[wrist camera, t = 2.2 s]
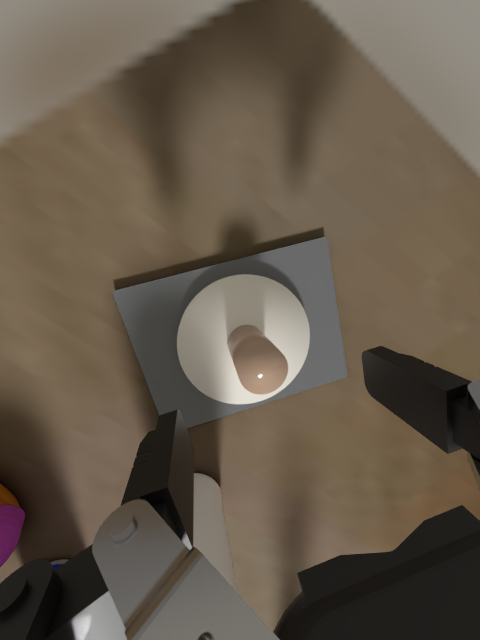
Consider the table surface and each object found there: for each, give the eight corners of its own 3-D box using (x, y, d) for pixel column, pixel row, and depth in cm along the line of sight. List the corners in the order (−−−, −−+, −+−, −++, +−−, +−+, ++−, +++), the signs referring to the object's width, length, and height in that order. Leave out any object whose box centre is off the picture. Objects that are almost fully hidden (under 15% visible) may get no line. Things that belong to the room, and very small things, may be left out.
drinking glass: (141, 478, 21) (12, 950, 7) (217, 451, 22) (255, 827, 7) (167, 534, 23) (110, 1008, 8) (237, 508, 23) (299, 906, 9)
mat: (322, 237, 19) (326, 236, 18) (343, 374, 22) (347, 377, 21) (114, 290, 17) (111, 291, 17) (167, 430, 20) (166, 434, 20)
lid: (291, 259, 18) (334, 256, 13) (314, 376, 21) (358, 418, 15) (159, 294, 17) (140, 308, 12) (199, 413, 20) (200, 474, 14)
